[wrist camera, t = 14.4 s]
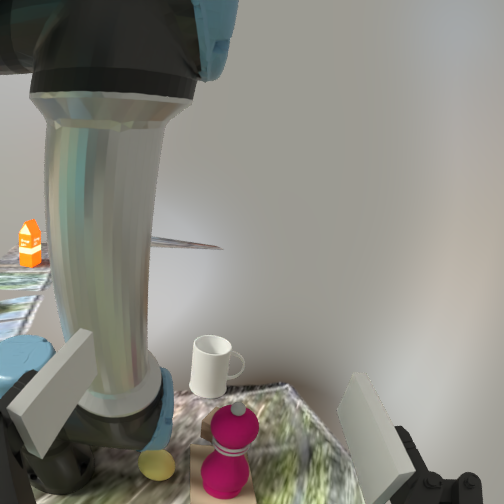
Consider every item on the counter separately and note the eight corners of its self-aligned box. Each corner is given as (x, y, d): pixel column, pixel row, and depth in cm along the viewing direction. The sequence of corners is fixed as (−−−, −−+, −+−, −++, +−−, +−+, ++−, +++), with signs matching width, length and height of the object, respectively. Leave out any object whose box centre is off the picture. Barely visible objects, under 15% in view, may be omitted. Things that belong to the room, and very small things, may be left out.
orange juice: (41, 262, 113) (41, 219, 108) (32, 267, 104) (31, 222, 100) (29, 259, 111) (28, 218, 107) (19, 265, 103) (18, 221, 98)
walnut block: (200, 437, 47) (201, 420, 46) (213, 423, 52) (216, 406, 51) (223, 448, 46) (226, 432, 44) (236, 433, 50) (239, 417, 49)
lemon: (133, 466, 37) (129, 447, 35) (162, 455, 41) (161, 435, 39) (152, 491, 33) (149, 474, 31) (182, 478, 37) (182, 460, 35)
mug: (240, 380, 68) (248, 339, 65) (240, 403, 59) (249, 360, 57) (191, 373, 67) (195, 331, 64) (186, 395, 59) (189, 352, 56)
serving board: (190, 447, 44) (190, 444, 44) (244, 450, 46) (245, 446, 46) (191, 530, 27) (191, 528, 27) (260, 530, 29) (261, 527, 28)
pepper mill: (192, 491, 34) (197, 411, 29) (209, 462, 40) (222, 378, 36) (236, 508, 32) (260, 433, 27) (250, 476, 39) (276, 395, 34)
